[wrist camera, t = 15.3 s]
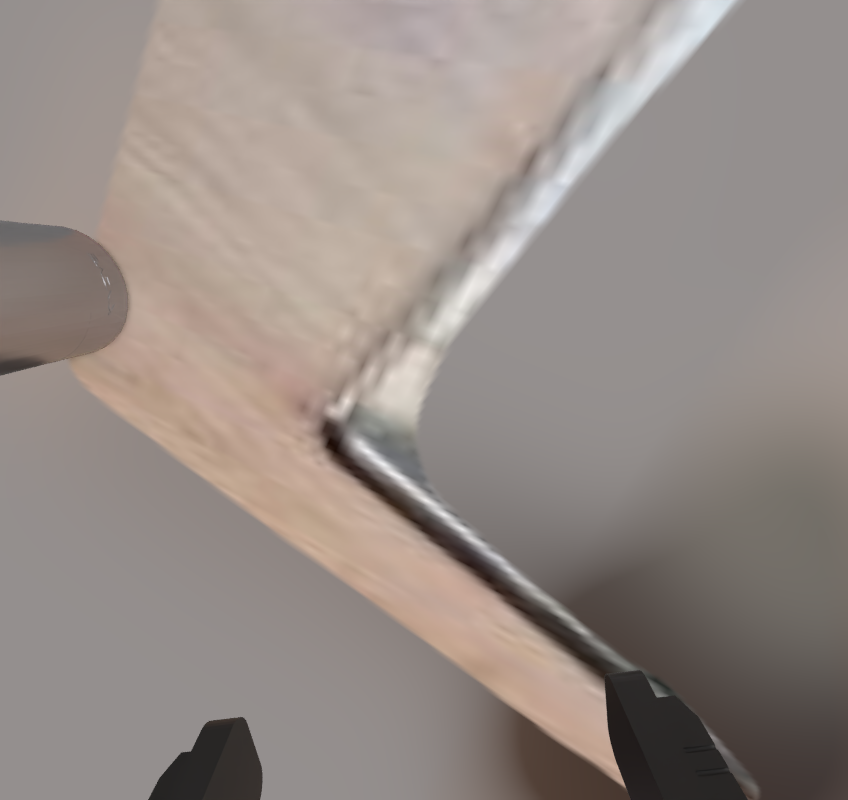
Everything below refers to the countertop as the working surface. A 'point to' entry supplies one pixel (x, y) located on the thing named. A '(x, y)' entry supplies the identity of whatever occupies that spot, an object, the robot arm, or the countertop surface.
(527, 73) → the countertop surface
